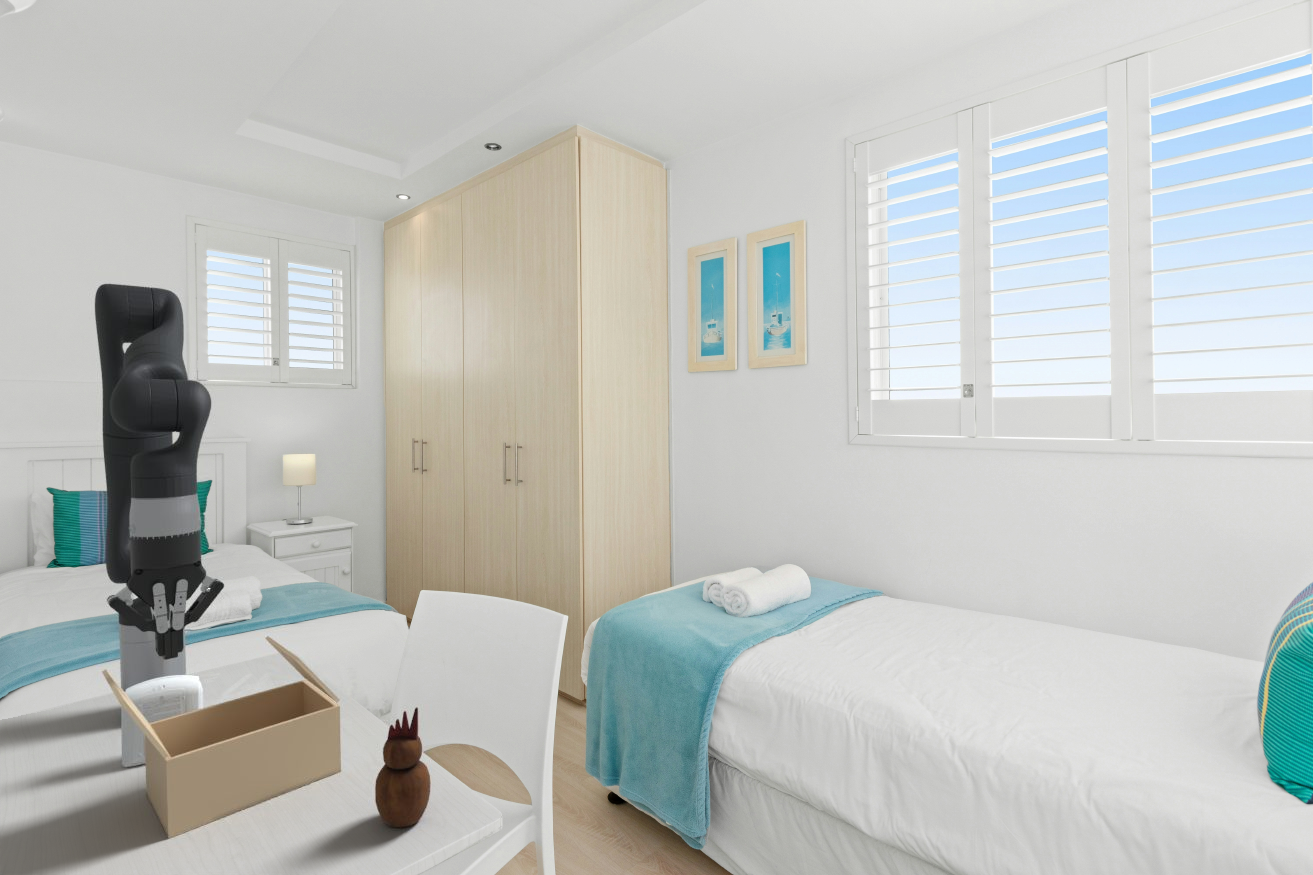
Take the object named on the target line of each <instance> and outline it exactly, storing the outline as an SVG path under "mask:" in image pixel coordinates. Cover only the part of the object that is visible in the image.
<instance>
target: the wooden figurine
mask: <svg viewBox="0 0 1313 875" xmlns="http://www.w3.org/2000/svg"><path fill="white" fill-rule="evenodd" d="M409 725H410V726H409ZM422 753H423V744H422V740H421V738H420V736H419V708H418V707H414V711H413V715H412V719H411V722H410V723H409V719H408V715H407V710H404V711H403V713H402V720H401V723H400V719H399V718H397V719H396V720H395V725H393V724H390V726H389V729H388V733H387V740H386V741H385V743H384V744H383V747H382V755H383V756H382V757H383V758H382V759H383V762H384V765H383V766H382V768H381V769H380V770H379V772H378V774H377V777H376V780H375V787H374V789H375V790H374V791H375V794H374V795H375V796H374V798H375V800H374V802H375V805H376V809H377V811H378V814H379V816H380V818H381V819H382V821H383V822H384V823H385V824H387V825H389V826H391V827H393V828H405V827H410V826H412V825H415V824H416V823H417V822H418V821H420V820H421V819H422V818H423V815H424V814H425V811H426V809H427V808H428V804H429V801H430V794H431V775H430V772H429V768H428V766H427V765H426V764H425V762H423V761H421V757H422V755H423V754H422Z"/></svg>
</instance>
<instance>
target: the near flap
mask: <svg viewBox="0 0 1313 875" xmlns="http://www.w3.org/2000/svg"><path fill="white" fill-rule="evenodd" d="M101 673H102V675H103V676H104V678H105V680H106V682H107V684H108V685H109V687H110V689H111V691H112V692H113V694H114V696H115V697H116V699H117V702H118V703H119V705H120V706H121V705H122V707H123V708H124V709H125V710H126V712H127V713H128V714H129V715H130V717H131V718H132V719H133V720H134V722H135V723H136V724H137V725H138V727H139V728H140V729H141V730H142V731H143V733H144V734H145V735H146V736H147V738H148V739H149V740H150V741H151V743H152V744H153V745H154V746H155V748H156V749H157V750H158V751H159V753H160V754H161V755H162V756H163V757H164V759H165V758H166V757H168V756H169V755H168V753H167V752H166V750H165V749H164V747H163V745H162V744H161V742H160V741H159V739H158V737H157V736H156V734H155V733H154V731H153V729H152V728H151V726H150V724H149V723H148V721H147V720H146V719H145V717H144V716H143V715H142V714H141V712H140V711H139V710H138V709H137V707H136V706H135V705H134V704H133V702H132V701H131V700H130V699H129V697H128V696H127V695H126V694H125V692H124V691H123V690H122V689H121V685H119V684H118V682H117V680H115V679H114V677H113V676H112V674H111V673H110V672H109V671H108V669H107V668H106V669H103V670H102V671H101Z"/></svg>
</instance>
